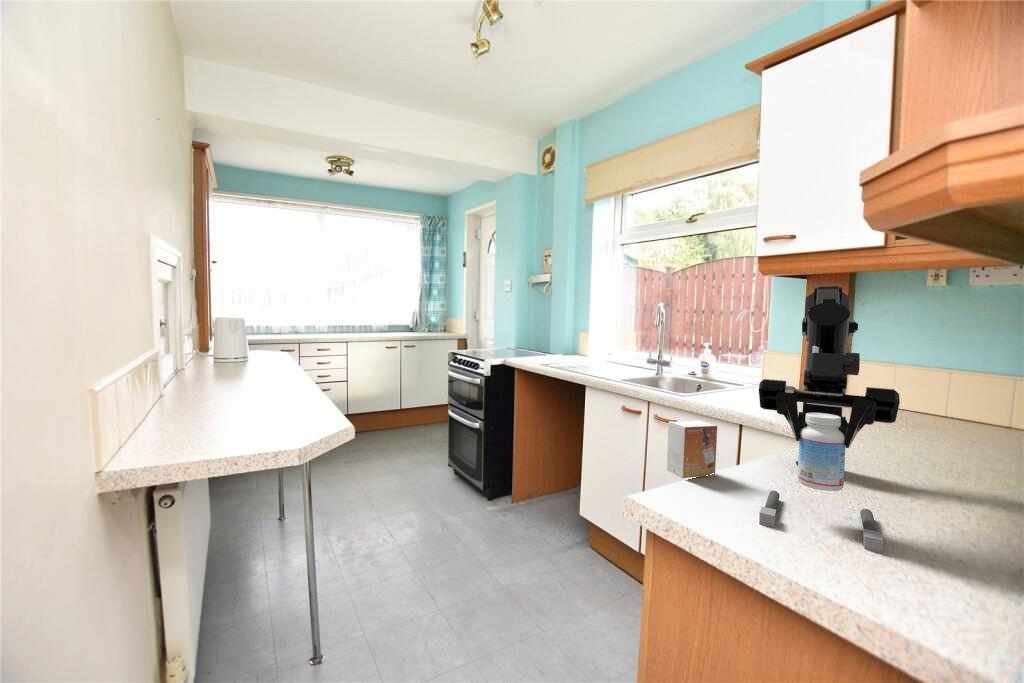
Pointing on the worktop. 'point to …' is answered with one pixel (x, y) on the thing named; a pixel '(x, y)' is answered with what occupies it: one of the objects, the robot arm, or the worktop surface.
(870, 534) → the grey block-headed part
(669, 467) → the small box
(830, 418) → the pill bottle
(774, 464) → the worktop surface
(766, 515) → the grey block-tipped rod
